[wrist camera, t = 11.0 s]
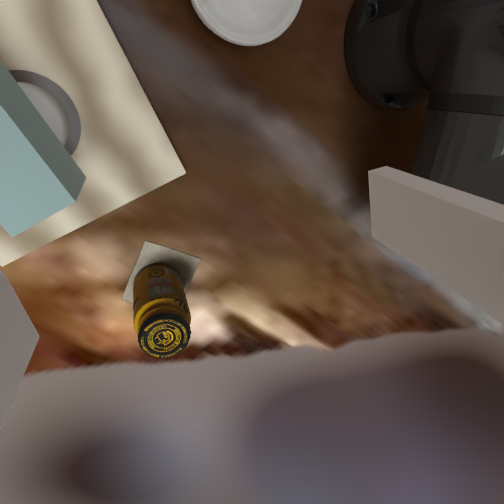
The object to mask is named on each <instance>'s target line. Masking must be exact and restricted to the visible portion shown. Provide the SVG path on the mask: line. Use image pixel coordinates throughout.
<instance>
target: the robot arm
mask: <svg viewBox="0 0 504 504" xmlns="http://www.w3.org/2000/svg"><path fill="white" fill-rule="evenodd" d="M345 59H346V65H347V69H348V73H349V75H350V78H351V80H352V82H353V84H354V86H355V87H356V89H357V90H358V92H359V93H360V94H361V95H362V96H363V97H364V98H365V99H366V100H368V101H369V102H371V103H372V104H374V105H377V106H380V107H384V108H392V109H407V108H413V107H416V106H419V105H422V104H424V103H426V102H428V106H427V110H426V112H425V116H424V120H423V124H422V128H421V132H420V135H419V139H418V143H417V146H416V150H415V154H414V158H413V161H412V165H411V169H410V172H409V173H406V172H403V171H400V170H397V169H394V168H391V167H388V166H384V167H381V168H377V169H373V170H370V171H368V177H369V195H370V213H371V231H372V237H373V238H375V239H376V240H378V241H379V242H381V243H382V244H384V245H385V246H387V247H388V248H390V249H391V250H393V251H394V252H396V253H397V254H399V255H400V256H402V257H403V258H405V259H406V260H408V261H409V262H411V263H412V264H414V265H415V266H417V267H418V268H420V269H421V270H423V271H424V272H426V273H427V274H429V275H430V276H432V277H433V278H435V279H436V280H438V281H439V282H441V283H442V284H444V285H445V286H447V287H448V288H450V289H451V290H453V291H455V292H456V293H458V294H459V295H461V296H462V297H464V298H465V299H467V300H468V301H470V302H471V303H473V304H474V305H476V306H477V307H479V308H480V309H482V310H483V311H485V312H486V313H488V314H489V315H491V316H492V317H494V318H495V319H497V320H498V321H500V322H501V323H503V324H504V0H356V2H355V4H354V6H353V8H352V11H351V13H350V16H349V20H348V23H347V28H346V34H345ZM39 337H40V336H39V335H38V333H37V331H36V329H35V327H34V326H33V324H32V322H31V320H30V318H29V317H28V315H27V313H26V311H25V309H24V308H23V306H22V304H21V302H20V300H19V299H18V297H17V295H16V293H15V291H14V290H13V288H12V286H11V284H10V282H9V280H8V279H7V277H6V275H5V273H4V271H3V270H2V271H0V431H1V428H2V426H3V424H4V421H5V419H6V416H7V414H8V412H9V409H10V407H11V404H12V402H13V400H14V397H15V395H16V392H17V390H18V387H19V385H20V383H21V380H22V378H23V375H24V373H25V371H26V368H27V366H28V363H29V361H30V359H31V356H32V354H33V351H34V349H35V347H36V344H37V342H38V339H39Z"/></svg>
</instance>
